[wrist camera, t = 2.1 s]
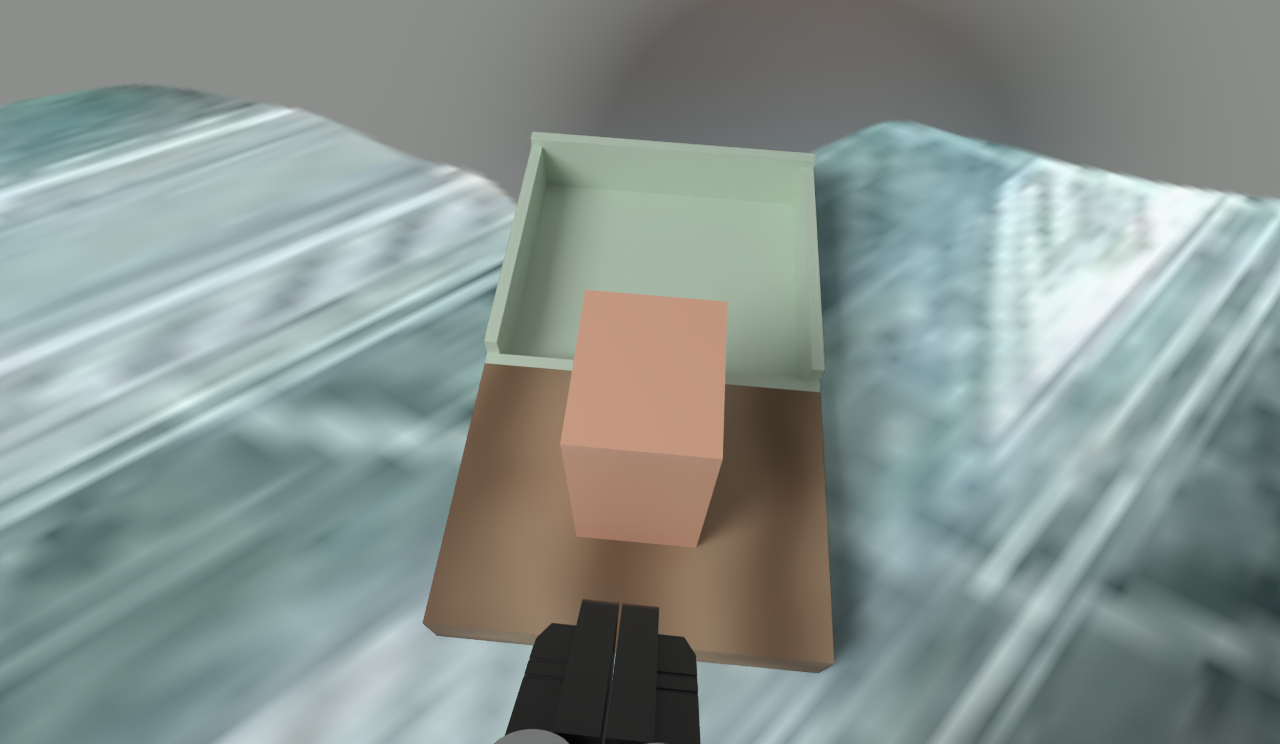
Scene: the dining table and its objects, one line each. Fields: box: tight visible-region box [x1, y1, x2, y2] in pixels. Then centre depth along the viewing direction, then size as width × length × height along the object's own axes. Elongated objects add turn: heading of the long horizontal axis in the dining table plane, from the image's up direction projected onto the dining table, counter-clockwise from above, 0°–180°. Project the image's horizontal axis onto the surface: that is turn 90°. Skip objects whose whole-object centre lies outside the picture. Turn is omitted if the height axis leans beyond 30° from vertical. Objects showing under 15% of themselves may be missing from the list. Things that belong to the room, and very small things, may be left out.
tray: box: [484, 132, 825, 392], centre depth 37 cm, size 16×15×4 cm
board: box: [423, 363, 834, 673], centre depth 31 cm, size 16×12×2 cm
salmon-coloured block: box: [560, 290, 727, 548], centre depth 27 cm, size 5×6×9 cm
